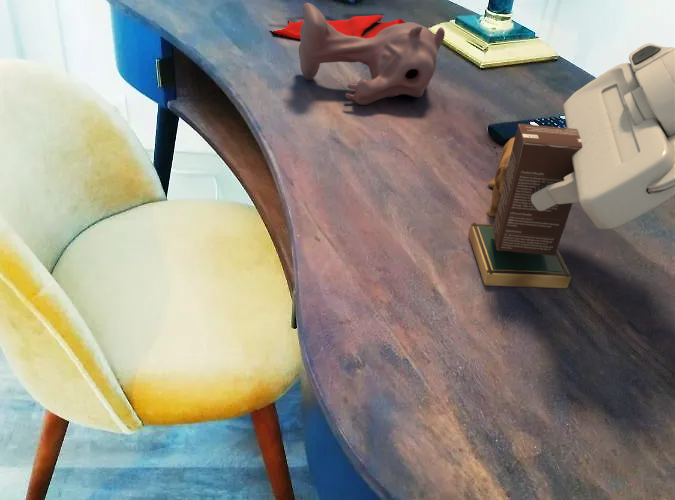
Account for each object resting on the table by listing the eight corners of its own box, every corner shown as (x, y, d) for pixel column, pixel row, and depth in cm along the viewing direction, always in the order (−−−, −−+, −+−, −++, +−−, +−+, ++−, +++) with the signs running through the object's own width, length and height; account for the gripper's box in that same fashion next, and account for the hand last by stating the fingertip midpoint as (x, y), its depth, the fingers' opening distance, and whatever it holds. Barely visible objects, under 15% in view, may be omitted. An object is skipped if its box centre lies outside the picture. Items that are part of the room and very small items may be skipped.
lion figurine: (537, 240, 70) (560, 168, 65) (488, 234, 71) (507, 162, 65) (520, 170, 82) (539, 105, 76) (478, 166, 82) (494, 100, 77)
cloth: (273, 47, 108) (273, 34, 107) (266, 19, 119) (266, 6, 117) (422, 48, 113) (424, 35, 112) (402, 21, 124) (404, 9, 122)
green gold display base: (543, 237, 71) (547, 225, 70) (567, 288, 64) (571, 276, 63) (468, 234, 70) (471, 222, 69) (484, 285, 64) (487, 273, 63)
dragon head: (314, 79, 84) (461, 65, 87) (299, -8, 87) (440, -18, 90) (307, 128, 97) (434, 115, 100) (294, 50, 100) (417, 40, 103)
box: (547, 231, 67) (582, 127, 60) (555, 258, 64) (593, 151, 56) (489, 225, 67) (517, 120, 60) (493, 251, 64) (524, 144, 56)
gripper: (729, 198, 47) (556, 275, 55) (672, 88, 63) (545, 158, 71) (690, 134, 45) (516, 223, 52) (642, 36, 61) (513, 115, 68)
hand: (532, 185), depth 62 cm, fingers closed on box, 4 cm apart
